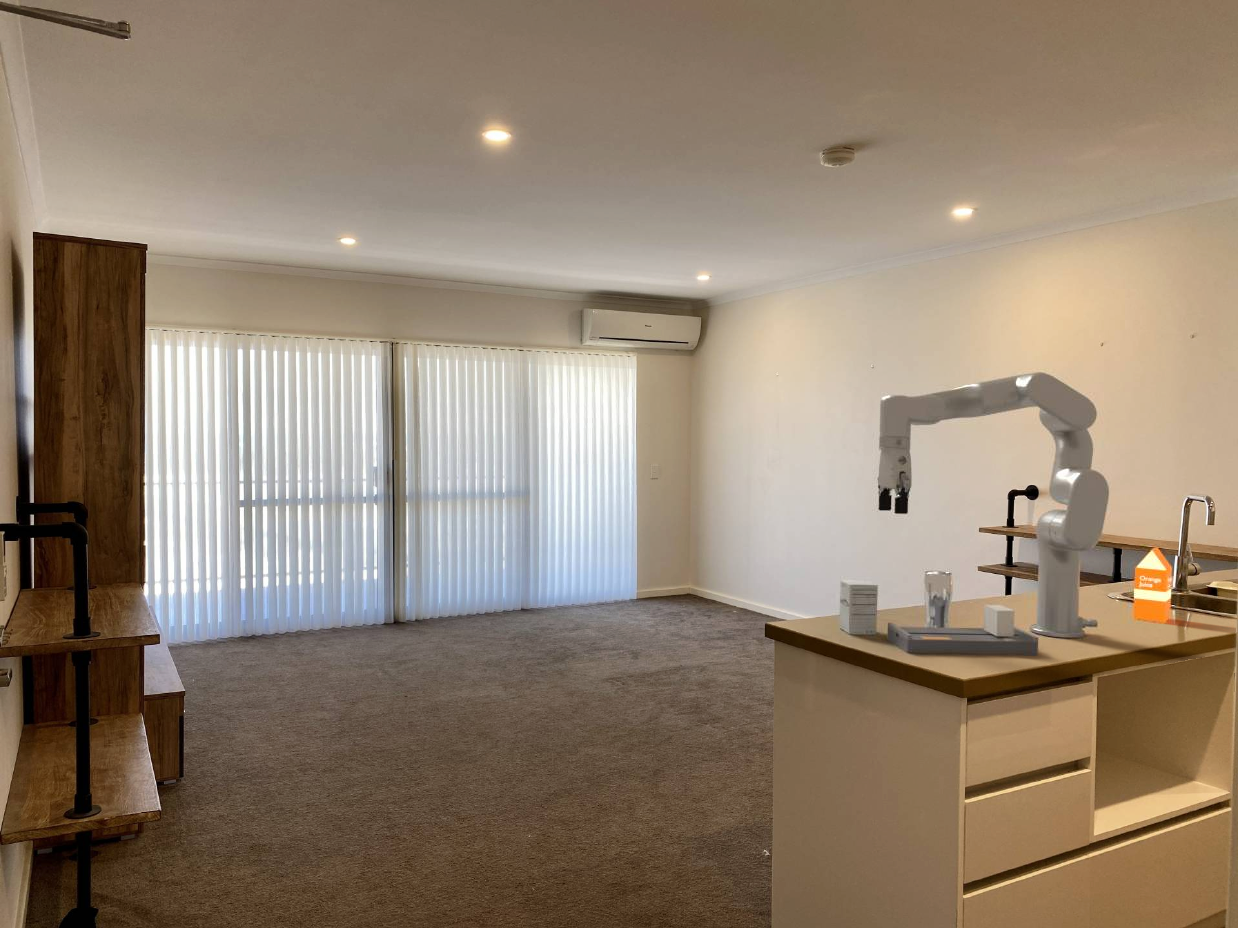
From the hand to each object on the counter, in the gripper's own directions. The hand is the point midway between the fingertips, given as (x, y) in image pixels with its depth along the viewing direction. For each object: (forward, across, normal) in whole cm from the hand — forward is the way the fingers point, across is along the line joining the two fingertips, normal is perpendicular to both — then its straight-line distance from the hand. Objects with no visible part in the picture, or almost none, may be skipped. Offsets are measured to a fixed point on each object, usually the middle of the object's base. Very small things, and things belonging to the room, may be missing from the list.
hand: (892, 512), depth 222 cm
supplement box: (+31, 0, +8) cm, 32 cm away
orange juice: (+31, +15, -83) cm, 90 cm away
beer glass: (+31, 0, -13) cm, 33 cm away
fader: (+28, -18, -19) cm, 38 cm away
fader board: (+30, -17, -10) cm, 36 cm away
